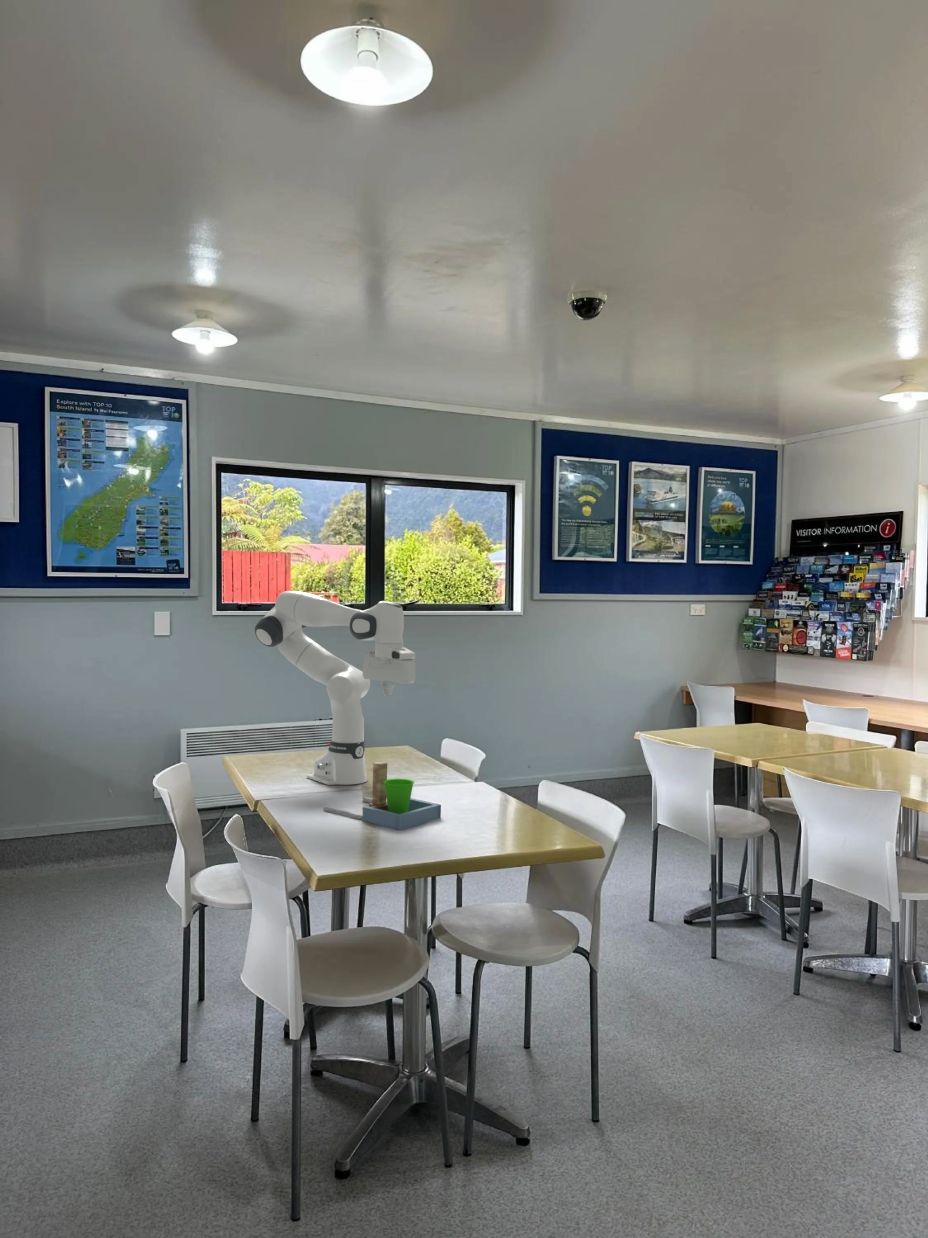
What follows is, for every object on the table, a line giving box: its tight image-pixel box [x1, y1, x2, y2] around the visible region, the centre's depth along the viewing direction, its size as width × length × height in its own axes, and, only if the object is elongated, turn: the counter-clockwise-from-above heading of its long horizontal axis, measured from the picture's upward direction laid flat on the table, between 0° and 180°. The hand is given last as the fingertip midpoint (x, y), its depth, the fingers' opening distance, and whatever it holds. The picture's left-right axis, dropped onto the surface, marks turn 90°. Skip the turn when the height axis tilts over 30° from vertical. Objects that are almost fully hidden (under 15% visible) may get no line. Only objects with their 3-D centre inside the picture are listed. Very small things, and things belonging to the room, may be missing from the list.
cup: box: [384, 777, 415, 814], centre depth 246 cm, size 9×9×11 cm
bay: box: [362, 797, 442, 831], centre depth 246 cm, size 14×18×4 cm
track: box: [323, 796, 372, 821], centre depth 255 cm, size 16×18×1 cm
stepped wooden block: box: [368, 761, 388, 811], centre depth 251 cm, size 5×12×15 cm, turn 142°
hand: (387, 695), depth 267 cm, fingers closed
